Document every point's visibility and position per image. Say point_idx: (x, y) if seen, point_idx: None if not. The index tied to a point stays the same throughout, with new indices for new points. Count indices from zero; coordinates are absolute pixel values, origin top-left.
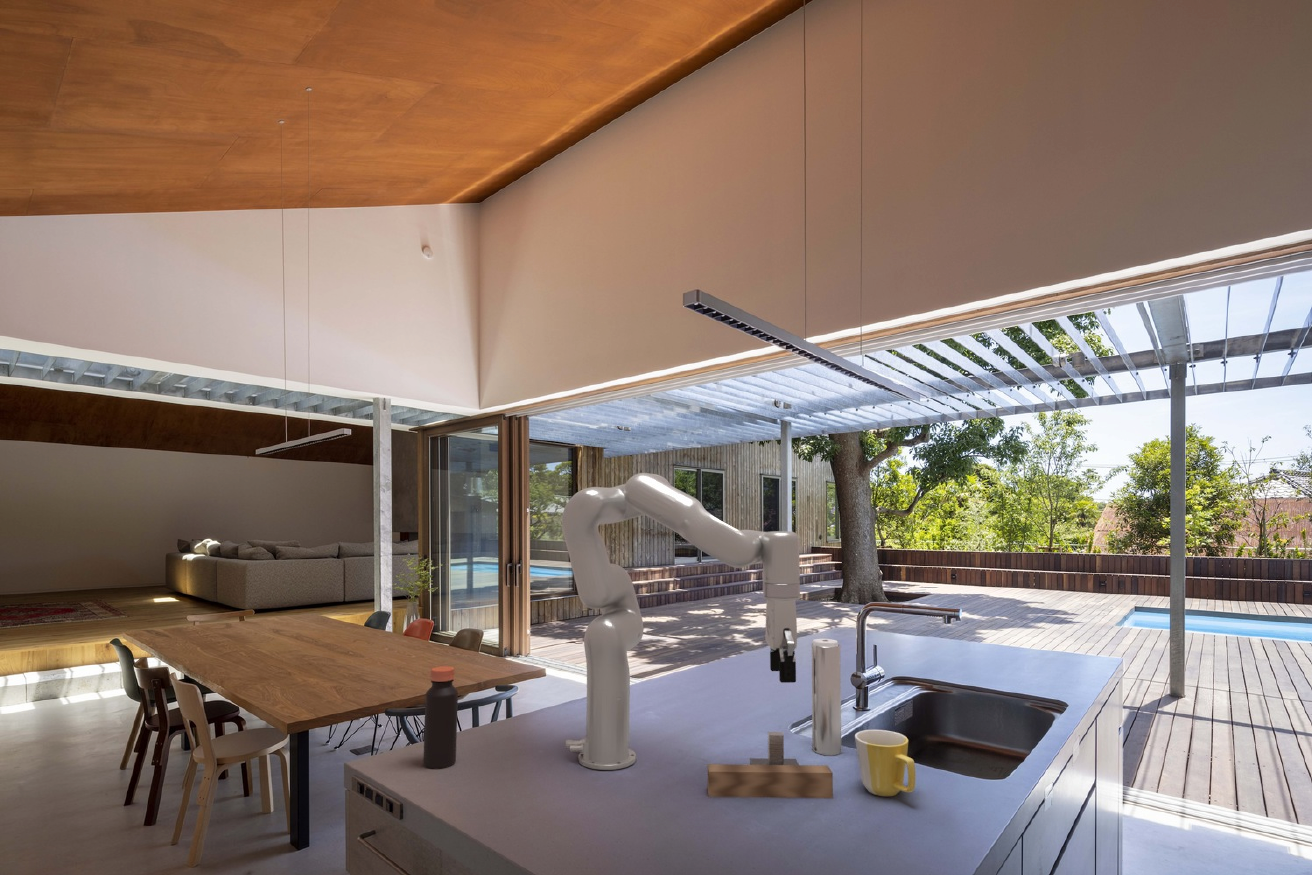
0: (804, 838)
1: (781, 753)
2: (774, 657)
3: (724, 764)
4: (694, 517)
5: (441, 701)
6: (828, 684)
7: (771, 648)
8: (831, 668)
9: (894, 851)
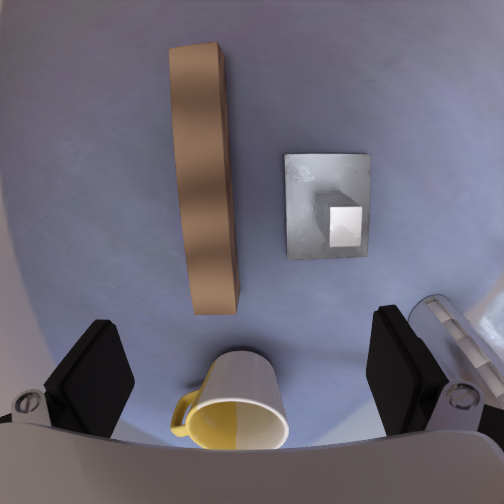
0: (54, 222)
1: (321, 227)
2: (399, 376)
3: (218, 79)
4: None
5: None
6: None
7: (440, 404)
8: None
9: (57, 323)
